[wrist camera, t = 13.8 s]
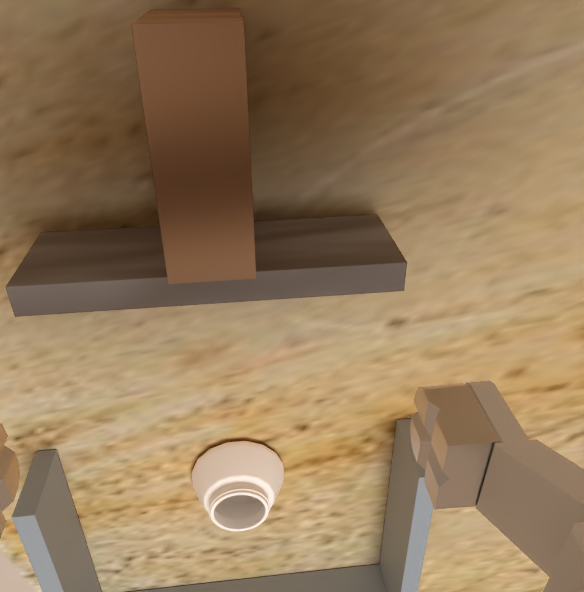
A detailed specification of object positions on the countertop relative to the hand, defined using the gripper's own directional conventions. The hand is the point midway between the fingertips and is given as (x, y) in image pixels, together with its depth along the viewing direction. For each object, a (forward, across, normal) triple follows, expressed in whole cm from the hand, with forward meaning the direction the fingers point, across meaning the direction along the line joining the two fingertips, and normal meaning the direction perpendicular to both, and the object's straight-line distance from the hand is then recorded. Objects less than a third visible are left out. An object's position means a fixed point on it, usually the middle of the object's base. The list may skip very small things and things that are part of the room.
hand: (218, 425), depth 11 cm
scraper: (+14, 0, -1) cm, 14 cm away
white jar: (+13, 0, +17) cm, 21 cm away
